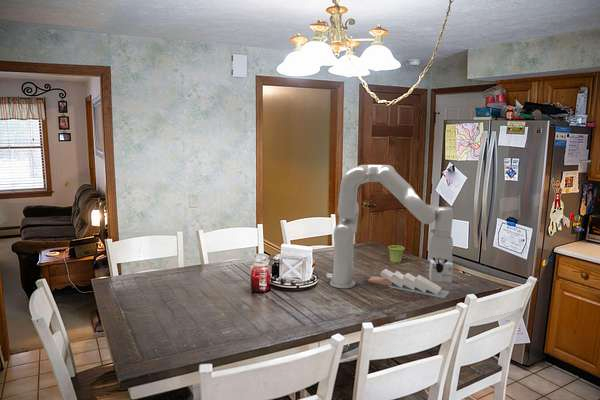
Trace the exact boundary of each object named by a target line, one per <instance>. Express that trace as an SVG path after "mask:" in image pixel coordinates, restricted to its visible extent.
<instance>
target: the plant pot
mask: <svg viewBox="0 0 600 400" xmlns="http://www.w3.org/2000/svg"><path fill="white" fill-rule="evenodd" d="M404 250H405V247H404V246H402V245H398V244H397V245H394V244H392V245H388V251H389V261H390V262H391V263H395V264H396V263H399V264H400V263H401V262H402V258H403V253H404Z"/></svg>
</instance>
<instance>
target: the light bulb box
mask: <svg viewBox="0 0 600 400" xmlns="http://www.w3.org/2000/svg"><path fill="white" fill-rule="evenodd" d="M439 260H440V263H441V260H442V259H439ZM453 269H454V263H453V261H452V262H446V263H445V264H444V266H443V271H442V272H441V273H439V272H438V273H437V270H436V262H435V261H434V260H433V259H429V271H428V280H429V281H431V282H433V283H453V273H454V272H453Z"/></svg>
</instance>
